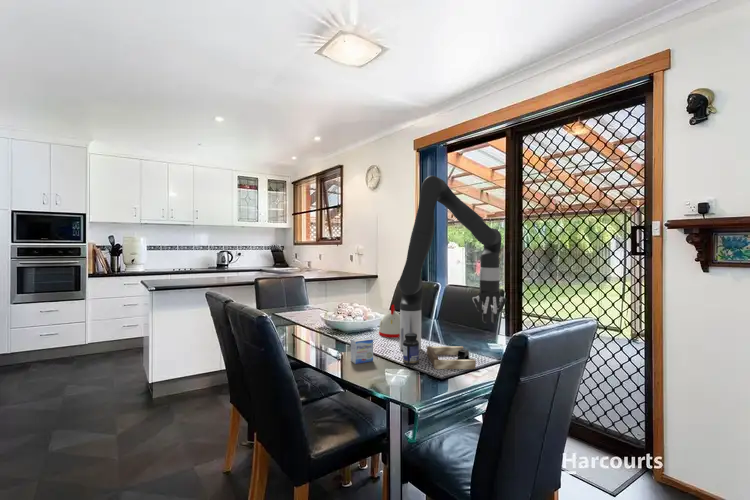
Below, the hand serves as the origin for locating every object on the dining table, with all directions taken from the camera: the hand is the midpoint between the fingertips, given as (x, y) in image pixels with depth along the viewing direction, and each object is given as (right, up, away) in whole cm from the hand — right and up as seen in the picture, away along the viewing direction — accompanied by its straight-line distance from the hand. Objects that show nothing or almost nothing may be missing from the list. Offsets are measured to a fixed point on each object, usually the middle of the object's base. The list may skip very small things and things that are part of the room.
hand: (489, 322), depth 149 cm
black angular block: (-10, -16, 0) cm, 19 cm away
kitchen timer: (-36, -14, +43) cm, 58 cm away
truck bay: (-15, -15, 0) cm, 22 cm away
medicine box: (-50, -15, -1) cm, 52 cm away
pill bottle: (-31, -15, -2) cm, 35 cm away
